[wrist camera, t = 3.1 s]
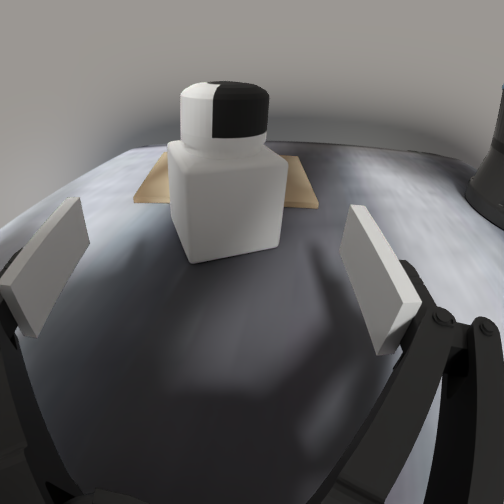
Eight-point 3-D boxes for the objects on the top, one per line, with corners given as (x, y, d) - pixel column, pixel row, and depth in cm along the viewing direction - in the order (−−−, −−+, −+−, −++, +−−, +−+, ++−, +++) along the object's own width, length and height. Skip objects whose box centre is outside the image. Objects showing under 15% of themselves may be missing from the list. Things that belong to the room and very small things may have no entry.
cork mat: (297, 160, 42) (297, 156, 42) (317, 208, 31) (318, 203, 31) (164, 156, 42) (164, 152, 41) (133, 202, 30) (133, 197, 30)
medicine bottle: (245, 207, 30) (253, 78, 23) (280, 248, 25) (298, 90, 18) (170, 218, 28) (165, 81, 21) (189, 266, 23) (183, 90, 16)
